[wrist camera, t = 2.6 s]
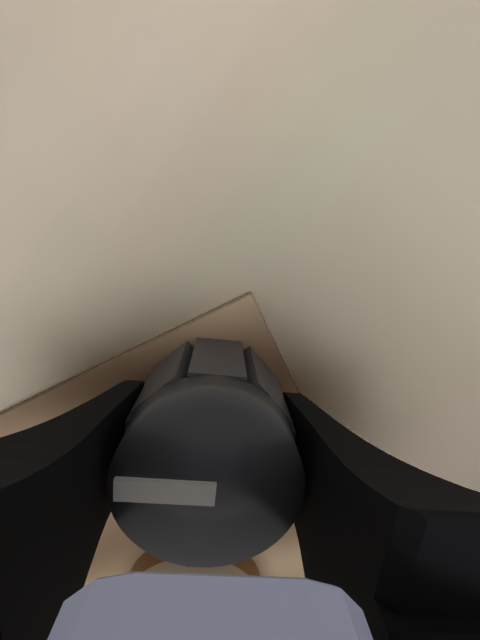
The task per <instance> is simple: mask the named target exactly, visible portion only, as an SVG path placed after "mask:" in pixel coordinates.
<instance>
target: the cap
mask: <svg viewBox="0 0 480 640" xmlns="http://www.w3.org/2000/svg"><path fill="white" fill-rule="evenodd" d="M295 437H296V431H295V428H294V425H293V421H292V418H291V415H290V413H289V410H288V407H287V404H286V402H285V399H284V396H283V393H282V390H281V388H280V385H279V382H278V379H277V377H276V376H275V375H274V373H273V372H272V371H271V370H270V369H269V367H268V366H267V365H266V364H265V363H264V362H263V360H262V359H261V358H260V357H259V356H258V355H257V353H256V352H255V351H254V350H253V349H252V347H251V346H249V347H248V348H247V349H245V350H244V351H243V348H242V341H233V340H221V339H210V338H199V337H197V338H196V342H195V346H194V347H193V346H192V345H191V344H190V343H189V342H188V341H186V342H184V343H183V344H182V345H181V346H179V347H178V348H177V349H176V350H174V351H173V352H172V353H171V354H169V355H168V356H167V357H166V358H164V359H163V360H162V361H161V362H159V363H158V364H157V365H156V366H154V367H153V369H152V371H151V373H150V375H149V377H148V379H147V381H146V383H145V384H144V387H143V389H142V390H141V392H140V394H139V396H138V398H137V400H136V402H135V404H134V406H133V407H132V409H131V411H130V413H129V415H128V417H127V419H126V421H125V434H124V436H123V438H122V440H121V442H120V444H119V446H118V448H117V450H116V452H115V454H114V456H113V458H112V461H111V463H110V466H109V470H108V474H107V484H106V489H107V499H108V503H109V507H110V510H111V512H112V515H113V517H114V519H115V521H116V522H117V524H118V526H119V527H120V529H121V530H122V531H123V532H124V534H125V535H126V536H127V537H128V538H129V539H130V540H131V541H132V542H133V543H134V544H136V545H137V546H138V547H140V548H141V549H142V550H144V551H145V552H147V553H149V554H151V555H153V556H154V557H157V558H159V559H161V560H164V561H167V562H170V563H173V564H177V565H182V566H188V567H199V568H208V567H220V566H226V565H231V564H236V563H239V562H242V561H245V560H248V559H250V558H252V557H254V556H256V555H258V554H260V553H262V552H263V551H265V550H267V549H268V548H270V547H271V546H272V545H274V544H275V543H276V542H277V541H278V540H279V539H281V538H282V537H283V536H284V535H285V533H286V532H287V531H288V530H289V529H290V527H291V526H292V524H293V523H294V521H295V520H296V518H297V516H298V514H299V511H300V509H301V507H302V503H303V499H304V494H305V474H304V469H303V464H302V461H301V458H300V455H299V452H298V449H297V447H296V444H295Z"/></svg>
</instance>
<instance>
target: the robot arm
mask: <svg viewBox="0 0 480 640" xmlns="http://www.w3.org/2000/svg"><path fill="white" fill-rule="evenodd" d="M143 387H144V381H135V380H125V381H123V382H121V383H119V384H117V385H115V386H114V387H112V388H110V389H108V390H107V391H105V392H103V393H101V394H100V395H98V396H96V397H94V398H93V399H91V400H89V401H87V402H85V403H83V404H81V405H79V406H77V407H75V408H73V409H71V410H70V411H68V412H66V413H64V414H62V415H59V416H57V417H55V418H53V419H50V420H48V421H46V422H43V423H41V424H38V425H36V426H33V427H30V428H28V429H25V430H22V431H19V432H16V433H13V434H10V435H7V436H4V437H0V640H480V492H477V491H474V490H471V489H468V488H465V487H462V486H459V485H457V484H454V483H452V482H449V481H446V480H444V479H441V478H439V477H436V476H434V475H431V474H429V473H427V472H424V471H422V470H420V469H418V468H416V467H413V466H411V465H409V464H407V463H405V462H403V461H401V460H399V459H397V458H395V457H393V456H391V455H389V454H387V453H385V452H384V451H382V450H380V449H378V448H377V447H375V446H373V445H371V444H370V443H368V442H366V441H365V440H363V439H362V438H360V437H359V436H357V435H356V434H354V433H353V432H351V431H350V430H348V429H347V428H345V427H344V426H343V425H341V424H340V423H339V422H337V421H336V420H335V419H333V418H332V417H331V416H329V415H328V414H327V413H325V412H324V411H323V410H322V409H320V408H319V407H318V406H317V405H315V404H314V403H313V402H312V401H310V400H309V399H308V398H306V397H305V396H304V395H302V394H300V393H289V392H283V396H284V399H285V402H286V404H287V407H288V410H289V413H290V415H291V418H292V421H293V425H294V428H295V431H296V437H295V444H296V447H297V449H298V452H299V455H300V458H301V461H302V464H303V469H304V474H305V494H304V499H303V503H302V507H301V509H300V511H299V514H298V516H297V518H296V520H295V521H294V525H295V528H296V533H297V537H298V541H299V546H300V552H301V558H302V563H303V569H304V575H305V578H303V577H276V576H248V575H219V574H191V573H163V572H130V573H124V574H118V575H112V576H106V577H100V578H98V579H95V580H93V581H92V582H90V583H89V584H87V585H86V586H85V587H84V585H85V581H86V578H87V575H88V572H89V569H90V566H91V563H92V560H93V558H94V555H95V552H96V549H97V546H98V543H99V540H100V537H101V534H102V532H103V529H104V527H105V524H106V522H107V519H108V517H109V515H110V513H111V510H110V507H109V503H108V499H107V489H106V484H107V474H108V470H109V466H110V463H111V461H112V458H113V456H114V454H115V452H116V450H117V448H118V446H119V444H120V442H121V440H122V438H123V436H124V434H125V421H126V419H127V417H128V415H129V413H130V411H131V409H132V407H133V406H134V404H135V402H136V400H137V398H138V396H139V394H140V392H141V390H142V389H143Z"/></svg>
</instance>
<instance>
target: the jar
mask: <svg viewBox="0 0 480 640" xmlns="http://www.w3.org/2000/svg"><path fill="white" fill-rule="evenodd" d="M130 572H163V573H191V574H219V575H248V576H260V573H259V570H258V568H257V566H256V564H255V562H254V561H253V560H252V558H250V559H248V560H245V561H242V562H239V563H236V564H231V565H226V566H220V567H208V568H199V567H188V566H182V565H177V564H173V563H170V562H167V561H164V560H161V559H159V558H157V557H154V556H153V555H151V554H149V553H147V552H145V553H144V554H143V555H141V556H140V558H139V559H138V560H137V561H136V562H135V564H134V565H133V567H132V569H131V571H130Z"/></svg>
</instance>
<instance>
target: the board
mask: <svg viewBox="0 0 480 640" xmlns="http://www.w3.org/2000/svg"><path fill="white" fill-rule="evenodd" d="M197 337H199V338H210V339H221V340H233V341H242V348H243V351H244V350H245V349H247V348H248V347H249V346H251V347H252V349H253V350H254V351H255V352H256V353H257V355H258V356H259V357H260V358H261V359H262V360H263V362H264V363H265V364H266V365H267V366H268V367H269V369H270V370H271V371H272V372H273V373H274V375H275V376H276V377H277V379H278V382H279V385H280V388H281V390H282V393H283V392H289V393H299V392H298V390H297V388H296V386H295V384H294V382H293V380H292V378H291V375H290V373H289V371H288V369H287V367H286V365H285V363H284V361H283V359H282V357H281V355H280V353H279V350H278V348H277V346H276V344H275V342H274V340H273V338H272V336H271V334H270V332H269V330H268V328H267V325H266V323H265V321H264V319H263V317H262V315H261V313H260V311H259V309H258V307H257V305H256V303H255V300H254V298H253V296H252V294H251V292H249V293H247V294H245V295H243V296H240V297H238V298H236V299H234V300H232V301H230V302H228V303H226V304H224V305H222V306H220V307H218V308H216V309H214V310H212V311H209V312H207V313H205V314H203V315H201V316H199V317H197V318H195V319H193V320H191V321H189V322H187V323H185V324H183V325H181V326H178V327H176V328H174V329H172V330H170V331H168V332H166V333H164V334H162V335H160V336H158V337H156V338H154V339H152V340H150V341H147V342H145V343H143V344H141V345H139V346H137V347H135V348H133V349H131V350H129V351H127V352H125V353H123V354H121V355H119V356H116V357H114V358H112V359H110V360H108V361H106V362H104V363H102V364H100V365H98V366H96V367H94V368H92V369H90V370H88V371H86V372H83V373H81V374H79V375H77V376H75V377H73V378H71V379H69V380H67V381H65V382H63V383H61V384H59V385H57V386H55V387H52V388H50V389H48V390H46V391H44V392H42V393H40V394H38V395H36V396H34V397H32V398H30V399H28V400H26V401H24V402H21V403H19V404H17V405H15V406H13V407H11V408H9V409H7V410H5V411H3V412H1V413H0V437H4V436H7V435H10V434H13V433H16V432H19V431H22V430H25V429H28V428H30V427H33V426H36V425H38V424H41V423H43V422H46V421H48V420H50V419H53V418H55V417H57V416H59V415H62V414H64V413H66V412H68V411H70V410H71V409H73V408H75V407H77V406H79V405H81V404H83V403H85V402H87V401H89V400H91V399H93V398H94V397H96V396H98V395H100V394H101V393H103V392H105V391H107V390H108V389H110V388H112V387H114V386H115V385H117V384H119V383H121V382H123V381H125V380H135V381H144V384H145V383H146V381H147V379H148V377H149V375H150V373H151V371H152V369H153V367H154V366H156V365H157V364H158V363H159V362H161V361H162V360H163V359H164V358H166V357H167V356H168V355H169V354H171V353H172V352H173V351H174V350H176V349H177V348H178V347H179V346H181V345H182V344H183V343H184V342H186V341H188V342H189V343H190V344H191V345H192V346H193V347H194V346H195V342H196V338H197ZM144 553H145V551H144V550H142V549H141V548H140V547H138V546H137V545H136V544H134V543H133V542H132V541H131V540H130V539H129V538H128V537H127V536H126V535H125V534H124V532H123V531H122V530H121V529H120V527H119V526H118V524H117V522H116V521H115V519H114V517H113V515H112V512H111V513H110V515H109V517H108V519H107V522H106V524H105V527H104V529H103V532H102V534H101V537H100V540H99V543H98V546H97V549H96V552H95V555H94V558H93V560H92V563H91V566H90V569H89V572H88V575H87V578H86V581H85V585H84V587H85V586H86V585H87V584H89V583H90V582H92V581H93V580H95V579H98V578H100V577H106V576H112V575H118V574H124V573H130V571H131V569H132V567H133V565H134V564H135V562H136V561H137V560H138V559H139V558H140V556H141V555H143V554H144ZM252 560H253V561H254V562H255V564H256V566H257V568H258V570H259V573H260V576H276V577H303V578H305V575H304V569H303V563H302V558H301V552H300V546H299V541H298V537H297V533H296V528H295V525H294V523H293V524H292V526H291V527H290V529H289V530H288V531H287V532H286V533H285V535H284V536H283V537H282V538H281V539H279V540H278V541H277V542H276V543H275V544H274V545H272V546H271V547H270V548H268V549H267V550H265V551H263V552H262V553H260V554H258V555H256V556H254V557H252Z"/></svg>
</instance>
